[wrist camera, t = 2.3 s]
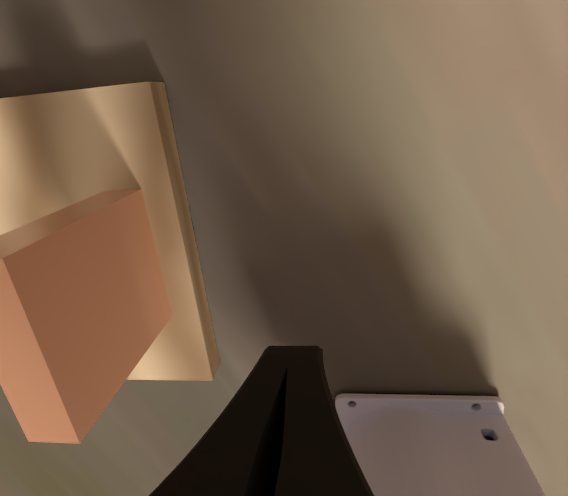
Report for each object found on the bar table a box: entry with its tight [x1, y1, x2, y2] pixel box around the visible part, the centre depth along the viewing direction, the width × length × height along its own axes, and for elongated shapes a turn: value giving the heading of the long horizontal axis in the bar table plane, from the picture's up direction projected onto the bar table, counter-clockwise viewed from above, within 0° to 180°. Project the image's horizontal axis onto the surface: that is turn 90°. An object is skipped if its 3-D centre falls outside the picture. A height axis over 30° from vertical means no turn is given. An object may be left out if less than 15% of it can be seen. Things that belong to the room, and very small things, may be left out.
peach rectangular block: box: [0, 189, 172, 444], centre depth 15 cm, size 2×7×8 cm, turn 5°
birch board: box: [0, 81, 220, 381], centre depth 20 cm, size 14×16×2 cm
